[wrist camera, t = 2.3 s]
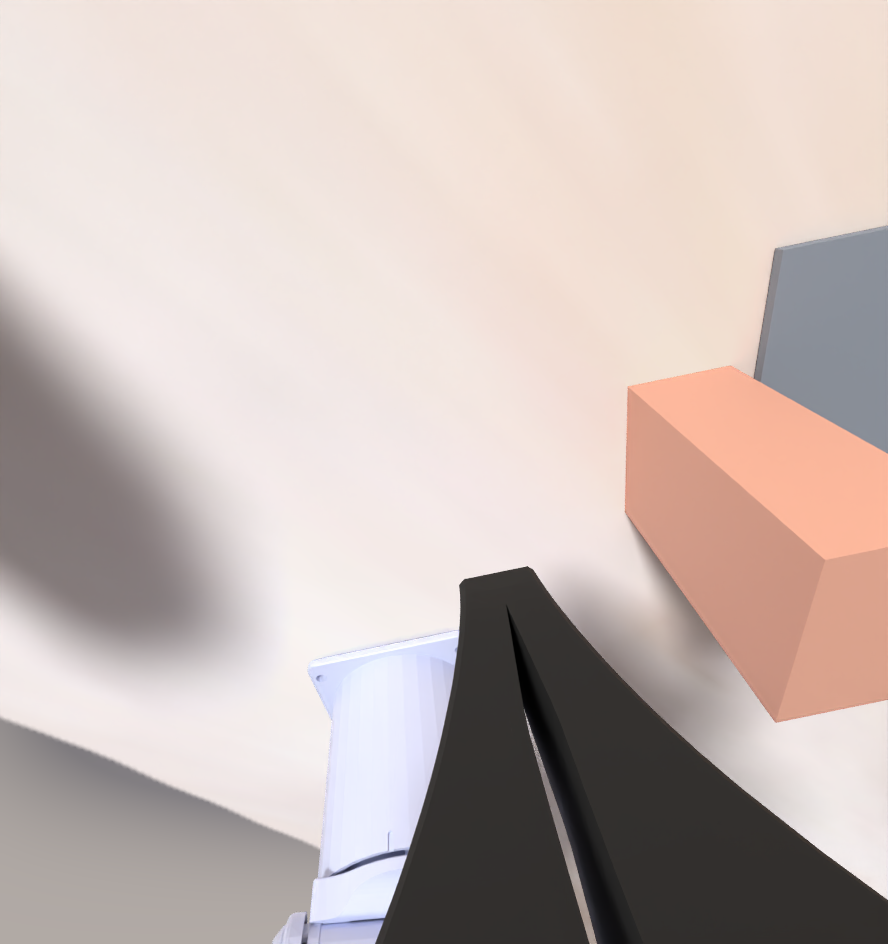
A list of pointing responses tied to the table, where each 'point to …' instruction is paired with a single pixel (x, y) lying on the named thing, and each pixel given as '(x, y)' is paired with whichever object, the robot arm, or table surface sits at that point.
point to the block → (767, 534)
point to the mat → (831, 331)
